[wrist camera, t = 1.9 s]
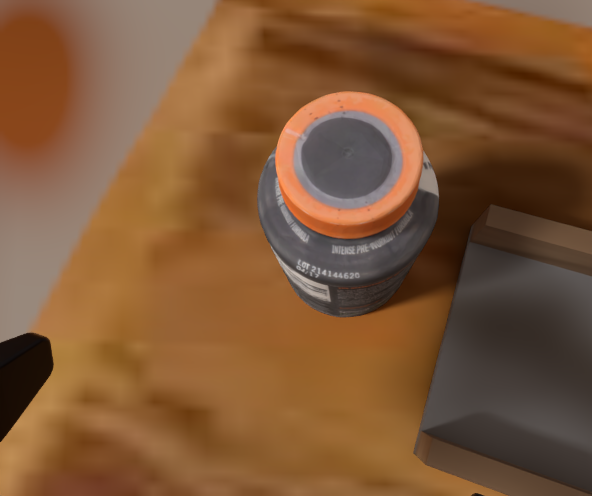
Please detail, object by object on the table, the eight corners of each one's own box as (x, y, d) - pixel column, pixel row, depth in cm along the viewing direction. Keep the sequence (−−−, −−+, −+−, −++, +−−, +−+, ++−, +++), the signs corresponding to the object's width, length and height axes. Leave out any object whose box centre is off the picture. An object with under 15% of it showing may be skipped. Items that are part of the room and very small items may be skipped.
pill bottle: (402, 202, 24) (458, 52, 13) (407, 319, 22) (476, 261, 11) (285, 204, 24) (244, 60, 13) (282, 318, 22) (232, 261, 12)
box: (683, 551, 19) (747, 583, 16) (413, 452, 20) (426, 464, 17) (713, 293, 21) (773, 279, 18) (471, 226, 23) (490, 204, 20)
